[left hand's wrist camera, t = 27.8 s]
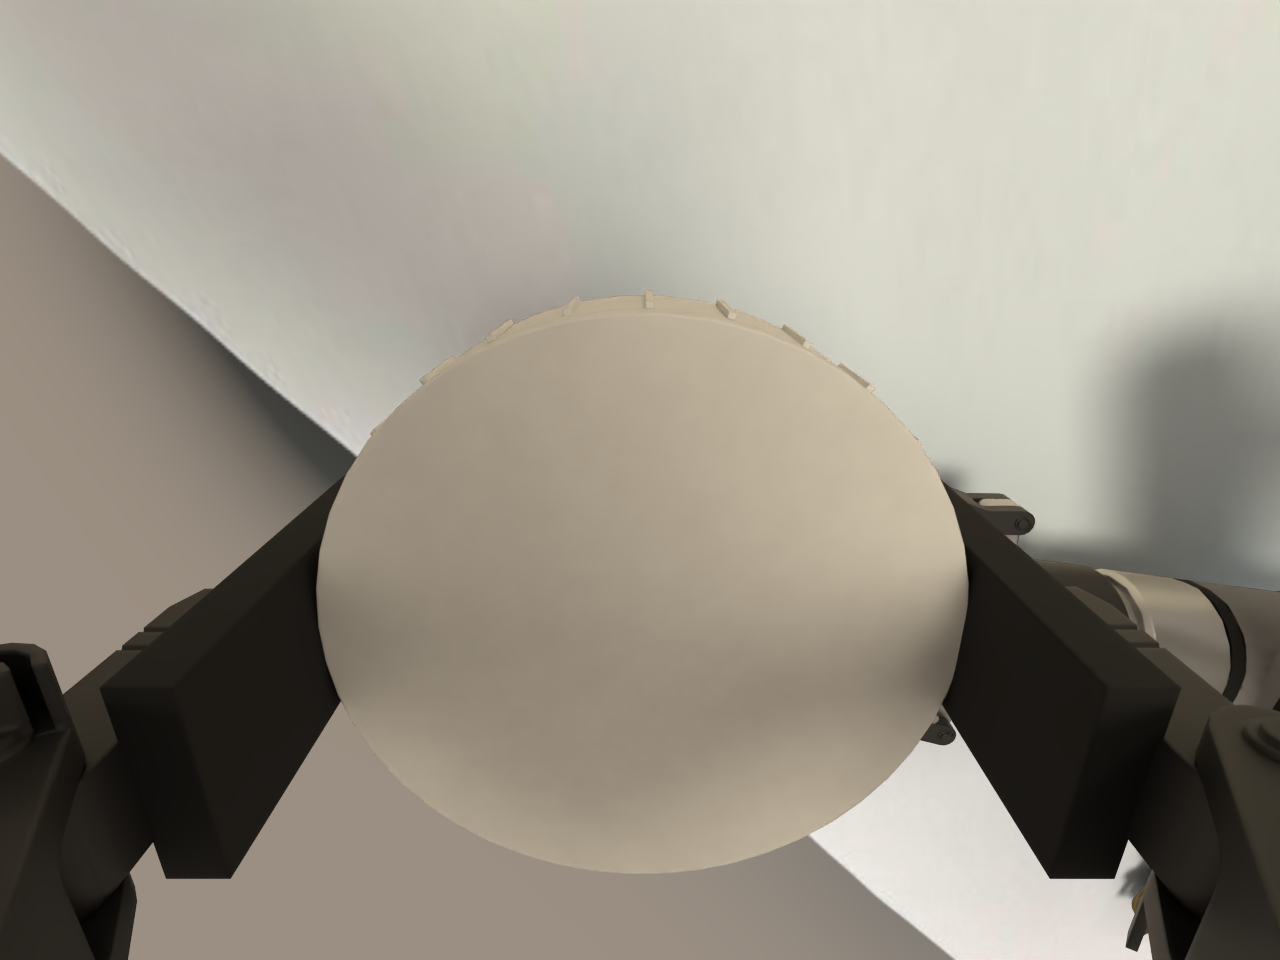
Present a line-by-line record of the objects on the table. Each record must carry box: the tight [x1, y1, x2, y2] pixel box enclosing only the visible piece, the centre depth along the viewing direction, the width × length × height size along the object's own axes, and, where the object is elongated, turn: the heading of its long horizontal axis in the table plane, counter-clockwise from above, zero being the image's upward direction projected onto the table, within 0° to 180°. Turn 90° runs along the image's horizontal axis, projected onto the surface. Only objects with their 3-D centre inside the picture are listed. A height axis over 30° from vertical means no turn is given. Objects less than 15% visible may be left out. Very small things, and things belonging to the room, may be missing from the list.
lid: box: [316, 290, 969, 874], centre depth 11 cm, size 10×10×2 cm
